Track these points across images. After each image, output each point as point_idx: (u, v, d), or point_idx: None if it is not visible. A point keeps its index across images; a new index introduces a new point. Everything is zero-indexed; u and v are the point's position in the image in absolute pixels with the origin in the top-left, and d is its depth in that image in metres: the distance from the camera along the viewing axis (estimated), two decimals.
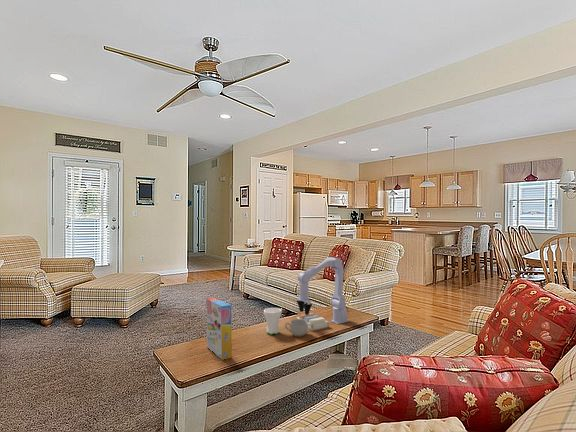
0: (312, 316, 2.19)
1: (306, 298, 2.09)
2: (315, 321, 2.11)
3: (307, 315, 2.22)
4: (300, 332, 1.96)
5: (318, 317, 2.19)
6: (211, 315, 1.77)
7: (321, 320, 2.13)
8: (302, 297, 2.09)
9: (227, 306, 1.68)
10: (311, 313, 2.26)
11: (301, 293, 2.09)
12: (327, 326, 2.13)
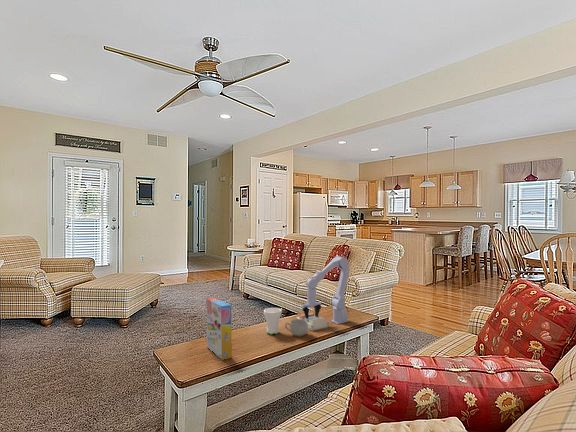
0: (312, 317, 2.19)
1: (308, 303, 2.17)
2: (315, 321, 2.11)
3: None
4: (300, 332, 1.96)
5: None
6: (211, 315, 1.77)
7: (321, 320, 2.13)
8: None
9: (227, 306, 1.68)
10: (311, 313, 2.26)
11: None
12: (327, 326, 2.13)
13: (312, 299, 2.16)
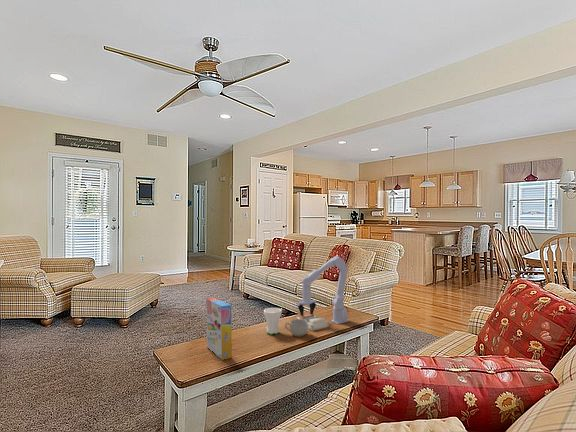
0: (312, 318, 2.19)
1: (303, 301, 2.23)
2: (315, 321, 2.11)
3: (307, 316, 2.22)
4: (300, 332, 1.96)
5: None
6: (211, 315, 1.77)
7: (321, 320, 2.13)
8: None
9: (227, 306, 1.68)
10: (311, 314, 2.26)
11: None
12: (327, 326, 2.13)
13: (307, 297, 2.21)
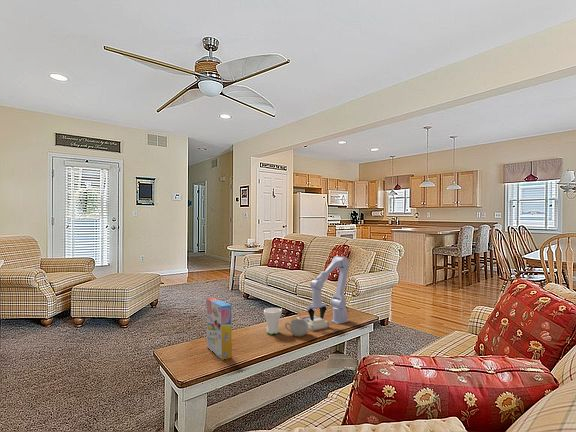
0: None
1: (313, 304, 2.12)
2: (315, 321, 2.11)
3: (307, 317, 2.22)
4: (300, 332, 1.96)
5: None
6: (211, 315, 1.77)
7: (321, 320, 2.13)
8: None
9: (227, 306, 1.68)
10: None
11: None
12: (327, 326, 2.13)
13: (317, 301, 2.11)
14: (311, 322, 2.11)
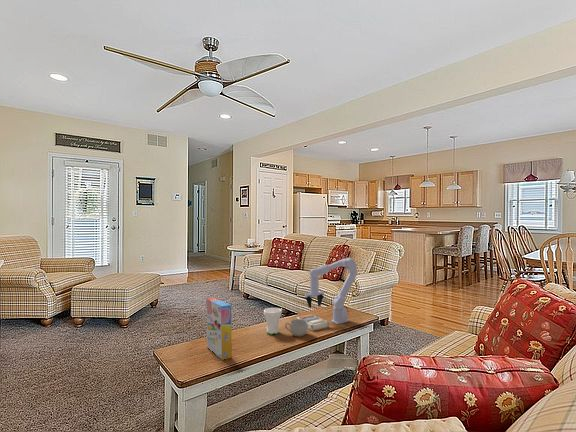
0: (312, 318, 2.19)
1: (311, 292, 2.23)
2: (315, 323, 2.11)
3: (307, 317, 2.22)
4: (300, 332, 1.96)
5: None
6: (211, 315, 1.77)
7: (321, 322, 2.13)
8: None
9: (227, 306, 1.68)
10: (311, 314, 2.26)
11: None
12: (327, 326, 2.13)
13: (315, 289, 2.22)
14: (311, 323, 2.11)
